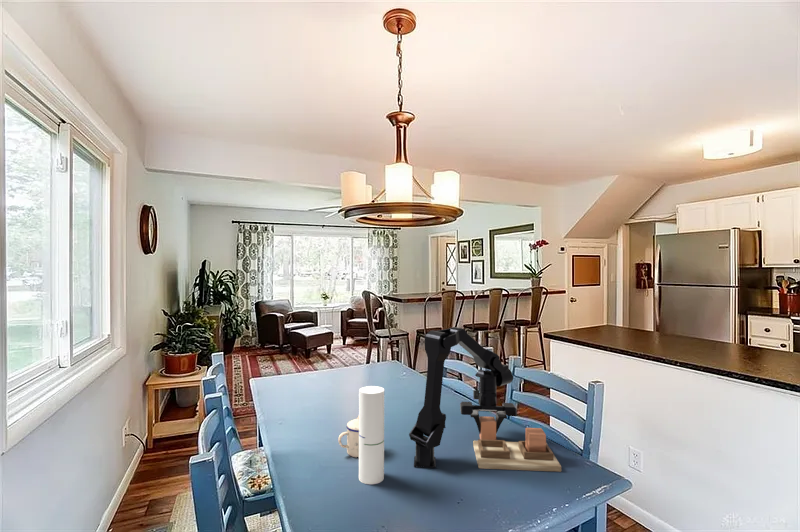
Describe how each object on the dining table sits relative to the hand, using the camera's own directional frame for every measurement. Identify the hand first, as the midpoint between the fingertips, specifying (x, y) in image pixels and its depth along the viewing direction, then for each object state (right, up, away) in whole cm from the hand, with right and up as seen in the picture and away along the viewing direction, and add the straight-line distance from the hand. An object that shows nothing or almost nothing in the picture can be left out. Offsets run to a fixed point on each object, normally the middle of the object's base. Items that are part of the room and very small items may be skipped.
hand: (487, 433), depth 144 cm
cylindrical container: (-39, -2, -26) cm, 47 cm away
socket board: (+6, -2, -13) cm, 15 cm away
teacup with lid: (-44, -2, -11) cm, 46 cm away
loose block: (0, -2, 0) cm, 2 cm away
